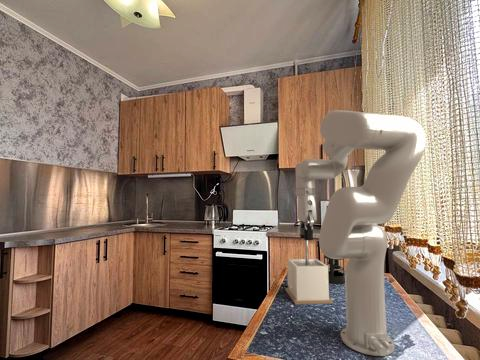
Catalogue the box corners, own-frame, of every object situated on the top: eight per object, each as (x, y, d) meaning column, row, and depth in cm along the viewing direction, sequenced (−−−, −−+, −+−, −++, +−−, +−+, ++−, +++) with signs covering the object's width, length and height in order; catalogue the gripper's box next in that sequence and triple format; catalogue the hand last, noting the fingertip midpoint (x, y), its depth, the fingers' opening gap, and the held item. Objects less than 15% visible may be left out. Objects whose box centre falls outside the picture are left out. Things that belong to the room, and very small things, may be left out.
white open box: (332, 303, 92) (331, 266, 93) (294, 304, 91) (293, 267, 92) (318, 289, 106) (317, 258, 107) (284, 290, 105) (284, 258, 106)
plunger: (324, 269, 95) (323, 230, 96) (298, 270, 94) (297, 230, 95) (314, 263, 104) (313, 227, 105) (291, 263, 104) (290, 227, 105)
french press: (342, 286, 110) (341, 232, 112) (321, 282, 115) (319, 231, 117) (347, 279, 120) (346, 230, 122) (327, 275, 125) (326, 229, 127)
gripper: (322, 192, 93) (324, 242, 92) (307, 193, 110) (308, 235, 109) (302, 192, 93) (304, 242, 91) (290, 193, 110) (291, 236, 108)
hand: (306, 238), depth 100 cm, fingers closed on plunger, 4 cm apart
